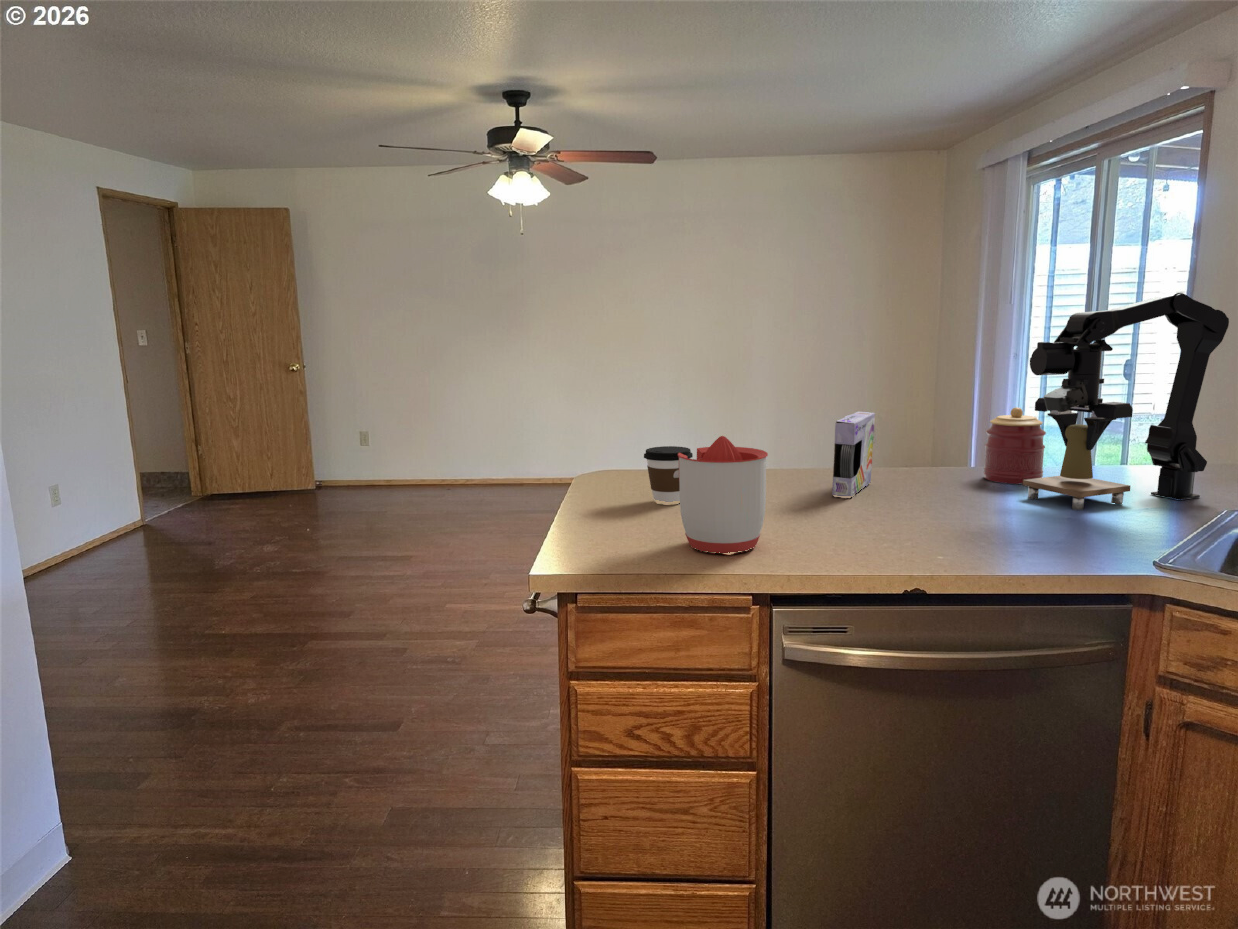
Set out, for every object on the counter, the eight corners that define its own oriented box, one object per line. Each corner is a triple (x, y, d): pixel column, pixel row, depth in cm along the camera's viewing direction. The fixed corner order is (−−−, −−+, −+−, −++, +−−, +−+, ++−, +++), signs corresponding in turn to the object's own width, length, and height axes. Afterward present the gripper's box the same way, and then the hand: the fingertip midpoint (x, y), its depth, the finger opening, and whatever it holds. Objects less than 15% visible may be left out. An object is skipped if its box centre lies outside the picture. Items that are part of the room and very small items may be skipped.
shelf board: (1070, 479, 175) (1071, 474, 175) (1130, 491, 162) (1130, 485, 162) (1022, 485, 170) (1023, 479, 170) (1079, 497, 157) (1080, 491, 157)
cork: (1097, 479, 162) (1101, 426, 160) (1065, 478, 163) (1069, 426, 162) (1086, 473, 168) (1090, 422, 166) (1055, 473, 169) (1059, 423, 167)
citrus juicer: (701, 529, 151) (701, 427, 148) (783, 543, 140) (784, 433, 137) (653, 548, 139) (651, 437, 136) (737, 565, 128) (738, 444, 125)
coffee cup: (675, 510, 168) (675, 455, 166) (634, 504, 174) (633, 451, 172) (702, 500, 176) (702, 448, 174) (662, 495, 183) (661, 444, 181)
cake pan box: (851, 500, 173) (853, 421, 170) (829, 498, 175) (830, 420, 172) (873, 484, 189) (875, 411, 186) (852, 483, 191) (854, 411, 188)
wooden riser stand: (1070, 492, 175) (1071, 480, 174) (1124, 504, 163) (1126, 491, 162) (1025, 498, 171) (1026, 485, 170) (1078, 510, 159) (1079, 497, 158)
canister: (1044, 477, 192) (1049, 405, 189) (1040, 486, 182) (1045, 411, 178) (986, 473, 199) (990, 403, 196) (979, 482, 188) (983, 409, 185)
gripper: (1017, 373, 168) (1013, 445, 171) (1096, 378, 151) (1089, 457, 153) (1056, 371, 172) (1051, 441, 174) (1137, 375, 154) (1131, 453, 157)
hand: (1078, 448), depth 165 cm, fingers closed on cork, 5 cm apart
